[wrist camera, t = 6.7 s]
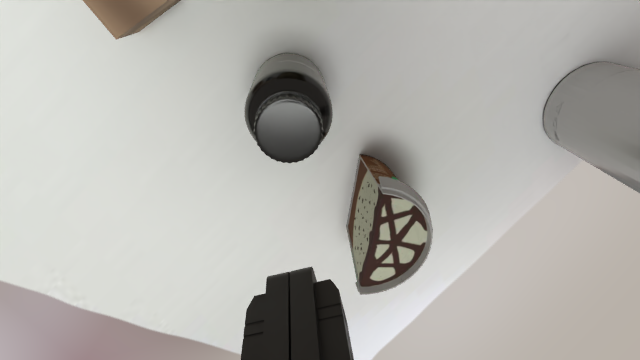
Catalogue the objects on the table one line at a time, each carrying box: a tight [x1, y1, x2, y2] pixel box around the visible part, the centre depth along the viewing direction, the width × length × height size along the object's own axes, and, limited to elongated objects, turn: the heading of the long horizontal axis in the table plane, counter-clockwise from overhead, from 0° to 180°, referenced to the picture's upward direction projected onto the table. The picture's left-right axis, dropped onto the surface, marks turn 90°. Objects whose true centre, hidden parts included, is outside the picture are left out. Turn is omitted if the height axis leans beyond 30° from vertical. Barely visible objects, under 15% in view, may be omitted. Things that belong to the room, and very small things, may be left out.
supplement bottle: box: [245, 53, 332, 163], centre depth 31 cm, size 7×7×12 cm
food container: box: [346, 155, 433, 295], centre depth 38 cm, size 12×6×10 cm, turn 173°
